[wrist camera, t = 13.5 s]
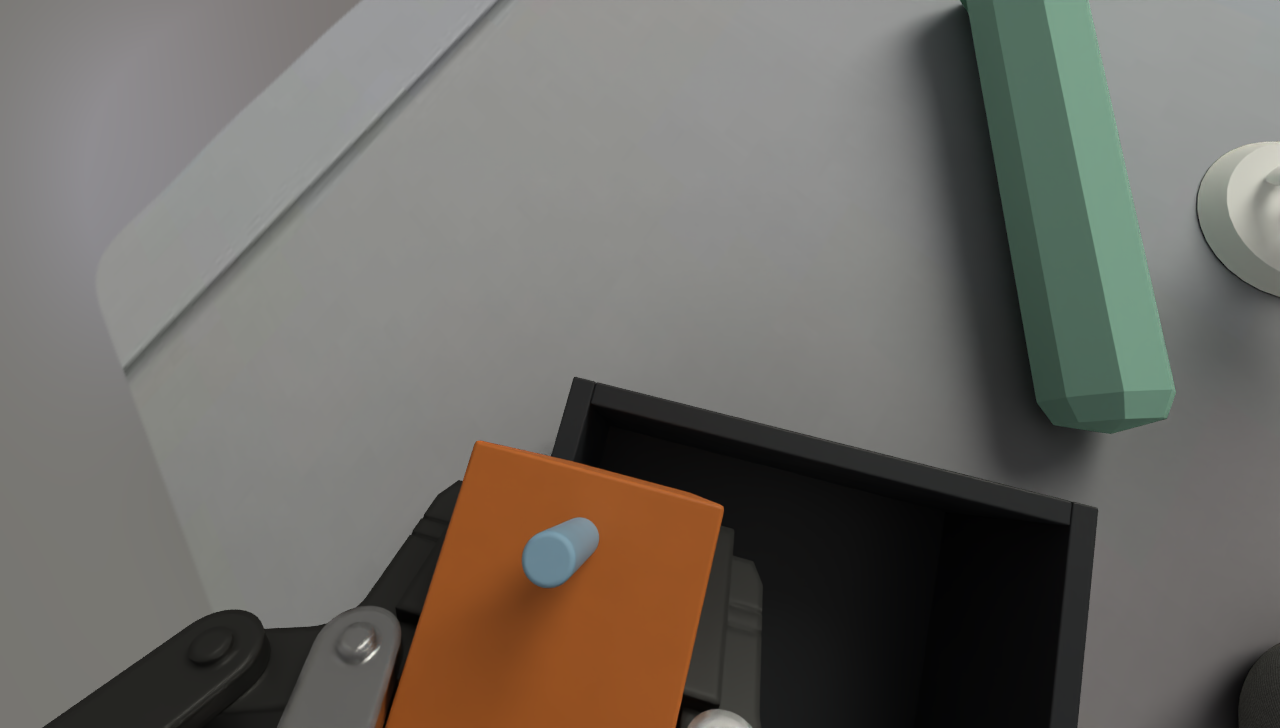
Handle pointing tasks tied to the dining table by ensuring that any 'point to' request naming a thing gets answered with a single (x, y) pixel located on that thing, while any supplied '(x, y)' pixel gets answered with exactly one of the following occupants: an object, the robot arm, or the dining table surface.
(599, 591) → the juice box
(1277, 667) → the smart speaker
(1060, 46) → the container
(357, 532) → the dining table surface
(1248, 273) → the figurine
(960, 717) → the bin
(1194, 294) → the dining table surface
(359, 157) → the dining table surface
